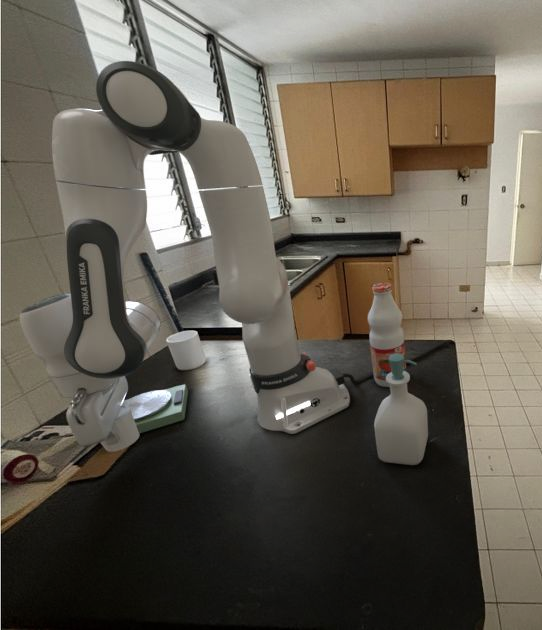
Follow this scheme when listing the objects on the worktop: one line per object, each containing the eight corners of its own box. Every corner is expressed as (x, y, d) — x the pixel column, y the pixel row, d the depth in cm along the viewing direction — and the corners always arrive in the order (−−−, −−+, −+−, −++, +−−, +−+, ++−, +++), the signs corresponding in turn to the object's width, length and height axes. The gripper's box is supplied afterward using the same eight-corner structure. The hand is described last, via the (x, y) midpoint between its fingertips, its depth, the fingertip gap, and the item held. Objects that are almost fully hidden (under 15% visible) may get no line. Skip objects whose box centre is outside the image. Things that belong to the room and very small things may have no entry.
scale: (188, 391, 94) (184, 381, 93) (184, 419, 83) (180, 409, 82) (116, 411, 87) (111, 401, 86) (101, 445, 76) (96, 434, 75)
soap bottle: (422, 470, 66) (416, 372, 57) (375, 465, 67) (362, 368, 58) (429, 435, 74) (425, 345, 65) (388, 431, 76) (378, 343, 67)
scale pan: (173, 386, 91) (173, 385, 91) (168, 411, 82) (168, 409, 81) (118, 401, 86) (117, 400, 86) (106, 429, 76) (104, 427, 76)
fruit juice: (394, 366, 102) (387, 277, 91) (413, 379, 95) (407, 285, 84) (368, 377, 97) (356, 285, 86) (385, 392, 90) (375, 294, 79)
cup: (186, 373, 103) (176, 344, 99) (164, 365, 109) (153, 337, 105) (212, 360, 110) (203, 332, 106) (190, 353, 115) (180, 327, 111)
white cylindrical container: (119, 455, 67) (104, 428, 64) (93, 452, 68) (76, 425, 66) (151, 431, 73) (138, 405, 70) (126, 428, 74) (112, 403, 72)
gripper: (93, 399, 57) (126, 459, 63) (120, 351, 74) (145, 402, 79) (43, 413, 54) (82, 474, 60) (83, 360, 71) (111, 412, 77)
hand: (118, 432), depth 70 cm, fingers closed on white cylindrical container, 5 cm apart
